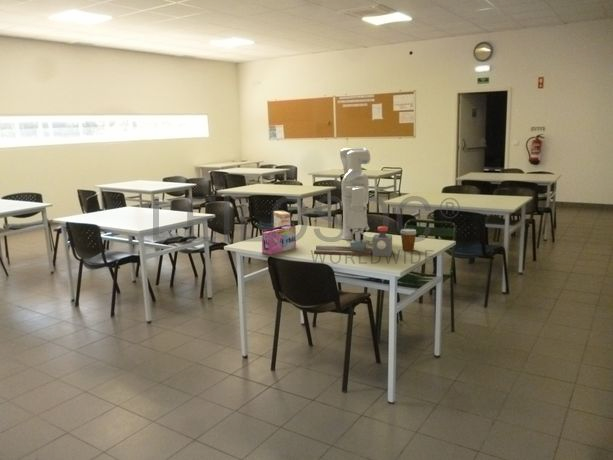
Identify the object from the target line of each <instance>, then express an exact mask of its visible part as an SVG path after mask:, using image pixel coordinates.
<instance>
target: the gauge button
mask: <svg viewBox="0 0 613 460" xmlns="http://www.w3.org/2000/svg"><path fill="white" fill-rule="evenodd" d="M388 229H389V228H388V226H386V225H385V226H383V225H381V226H377V232H378V235H379V237H384V238H386V235H387V232H388Z"/></svg>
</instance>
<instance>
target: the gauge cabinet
mask: <svg viewBox="0 0 613 460" xmlns="http://www.w3.org/2000/svg"><path fill="white" fill-rule="evenodd" d="M372 248H373V252H372V256H373V257H391V256H392V253H393V234H386V238H384V237H379V233H378V234H377V233H376V234H374V235H373V237H372Z"/></svg>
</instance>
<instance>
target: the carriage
mask: <svg viewBox="0 0 613 460" xmlns="http://www.w3.org/2000/svg"><path fill="white" fill-rule="evenodd" d="M360 234H361V230H358V231H355V241H354V240H350V245H349V246H350V248H351V251H365V247H367V246H366V245H367V240H365V239H362V241H360Z"/></svg>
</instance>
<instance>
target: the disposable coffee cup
mask: <svg viewBox="0 0 613 460" xmlns="http://www.w3.org/2000/svg"><path fill="white" fill-rule="evenodd" d="M399 233H400V237H401V245H402V251H404V250H405V252H412V251H414V250H415V249H414V248H415V244H416V243H415V242H416V238H417V237H416V235H417V230H416V229H415V228H402V229H400V232H399Z"/></svg>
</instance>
